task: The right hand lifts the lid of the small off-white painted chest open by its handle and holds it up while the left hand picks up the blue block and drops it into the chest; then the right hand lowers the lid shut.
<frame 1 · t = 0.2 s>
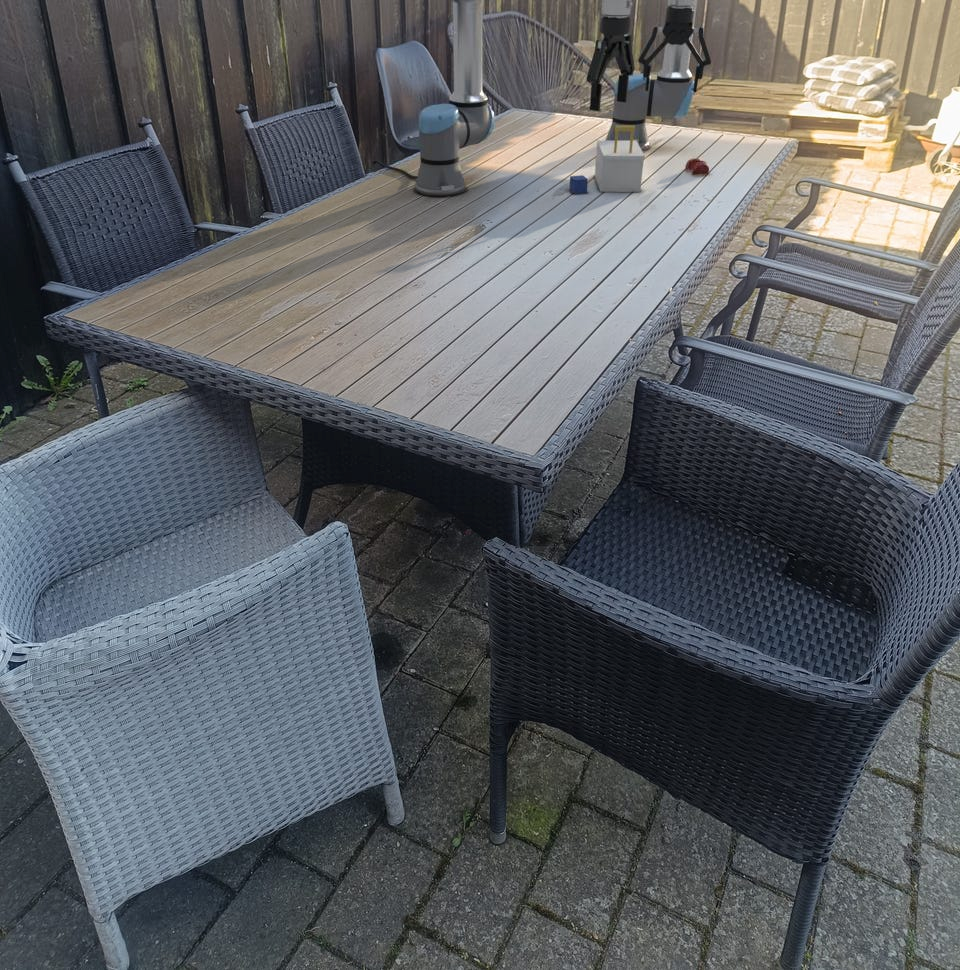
left hand: (608, 106, 226), 28 cm above the table, tool pointing down, fingers open, 13 cm apart
right hand: (670, 90, 243), 28 cm above the table, tool pointing down, fingers open, 13 cm apart
chest: (616, 183, 264), on the table
block: (577, 191, 257), on the table
dark red lumpy piece: (696, 172, 274), on the table
lid: (621, 136, 255), point 14 cm above the table, hinge at -0.1°
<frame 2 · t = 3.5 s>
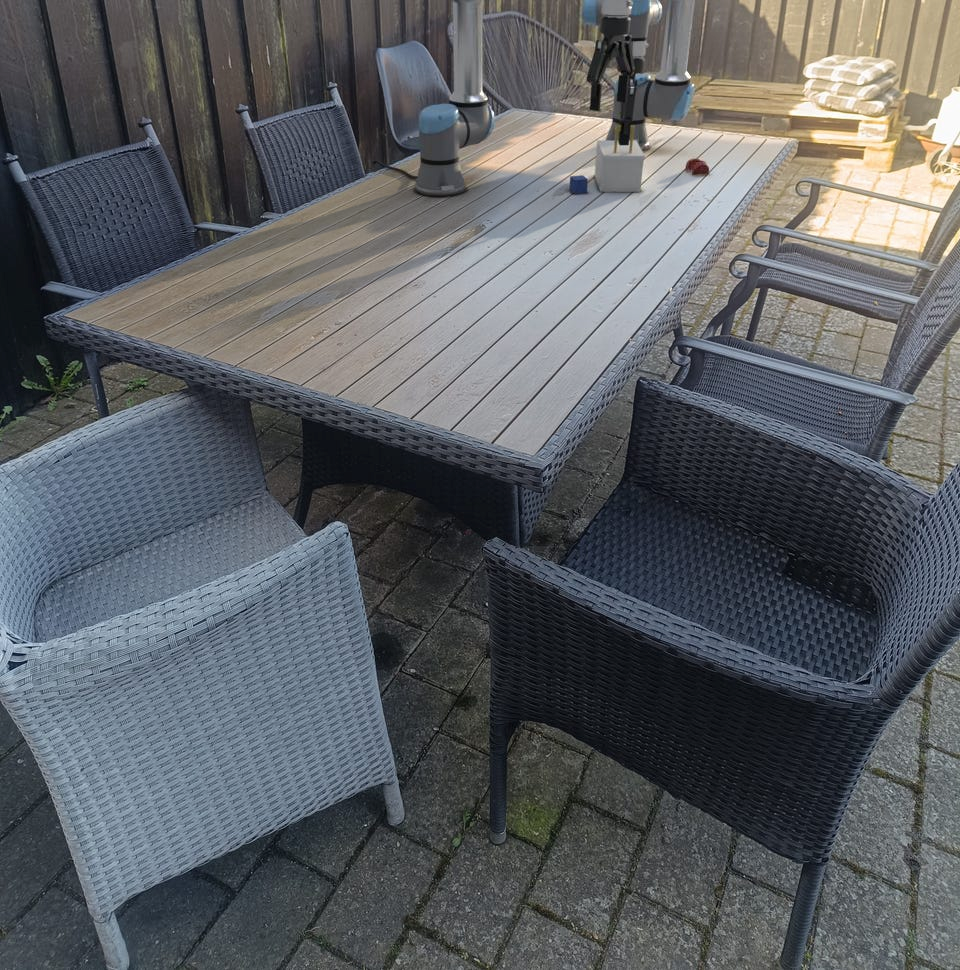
left hand: (608, 106, 226), 28 cm above the table, tool pointing down, fingers open, 13 cm apart
right hand: (623, 144, 251), 13 cm above the table, tool pointing down, fingers closed on lid, 1 cm apart
lid: (621, 136, 255), point 14 cm above the table, hinge at 0.0°, touching right hand
everything else where it was.
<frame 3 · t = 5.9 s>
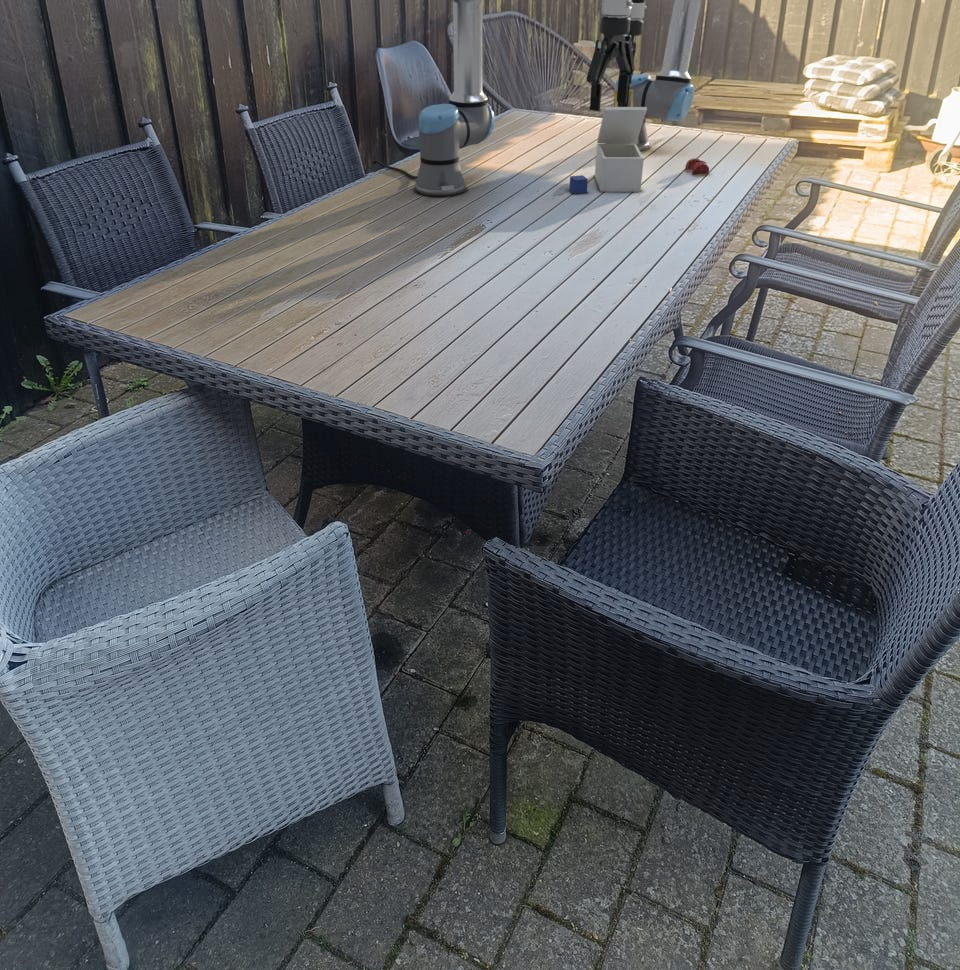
left hand: (608, 106, 226), 28 cm above the table, tool pointing down, fingers open, 13 cm apart
right hand: (622, 107, 254), 22 cm above the table, tool pointing down, fingers closed on lid, 1 cm apart
lid: (620, 114, 256), point 19 cm above the table, hinge at 43.8°, touching right hand
everything else where it was.
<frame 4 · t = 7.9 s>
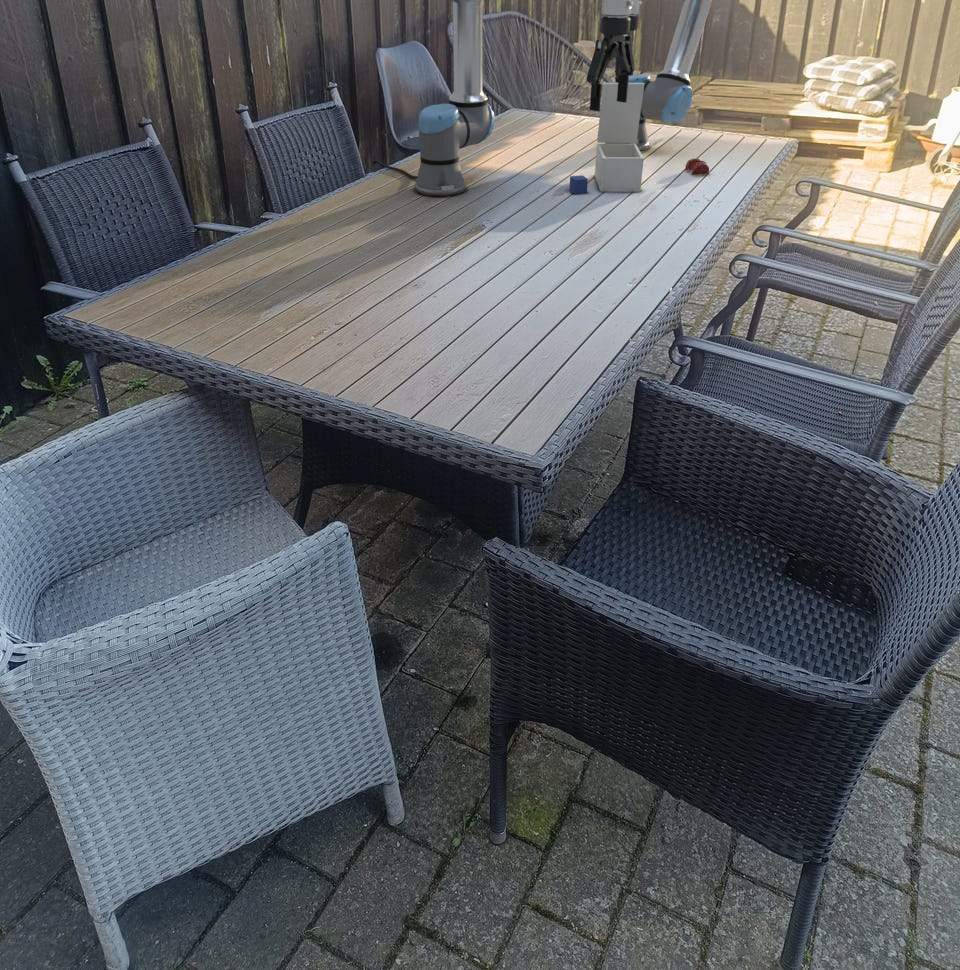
left hand: (608, 106, 226), 28 cm above the table, tool pointing down, fingers open, 13 cm apart
right hand: (618, 100, 261), 22 cm above the table, tool pointing down, fingers closed on lid, 1 cm apart
lid: (618, 107, 260), point 20 cm above the table, hinge at 77.3°, touching right hand
everything else where it was.
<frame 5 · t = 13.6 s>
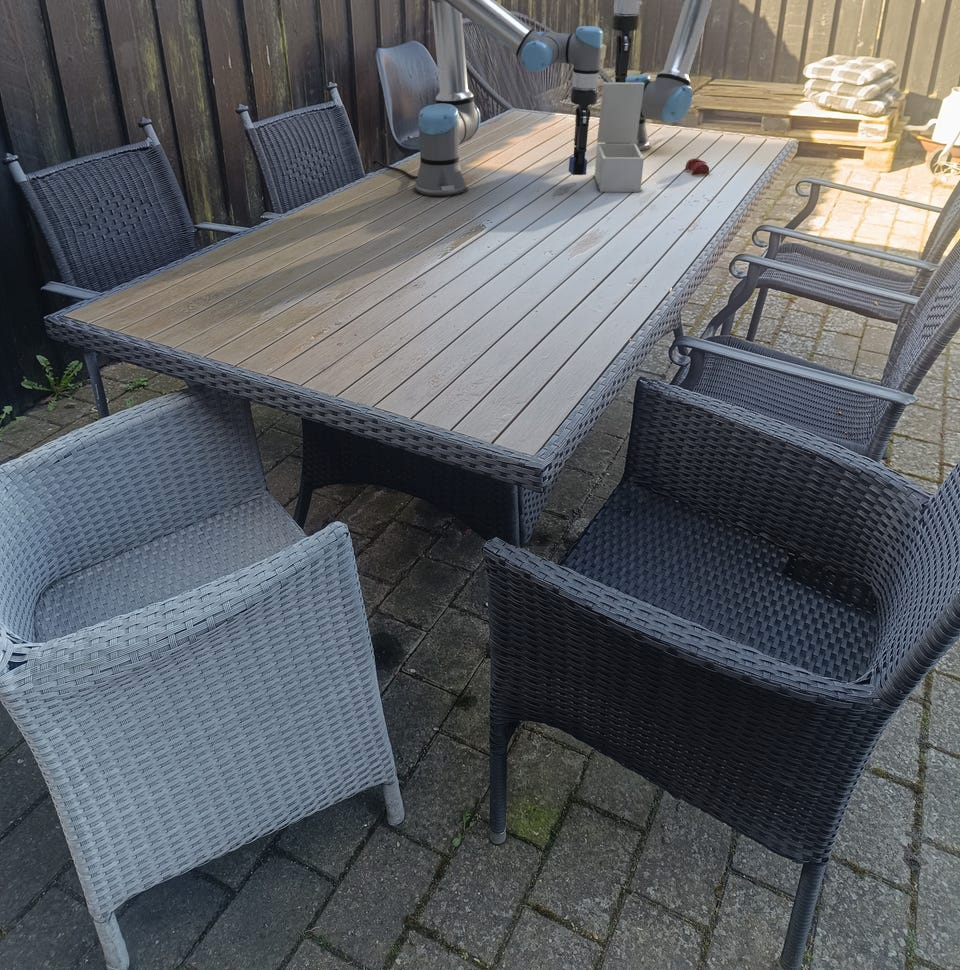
left hand: (577, 171, 254), 6 cm above the table, tool pointing down, fingers closed on block, 5 cm apart
right hand: (618, 100, 261), 22 cm above the table, tool pointing down, fingers closed on lid, 1 cm apart
block: (577, 172, 254), point 6 cm above the table, touching left hand
lid: (618, 107, 260), point 20 cm above the table, hinge at 77.7°, touching right hand
everything else where it was.
when the left hand's fingers open (18 cm above the table, at t = 16.6 s): block drops 16 cm, resting on chest.
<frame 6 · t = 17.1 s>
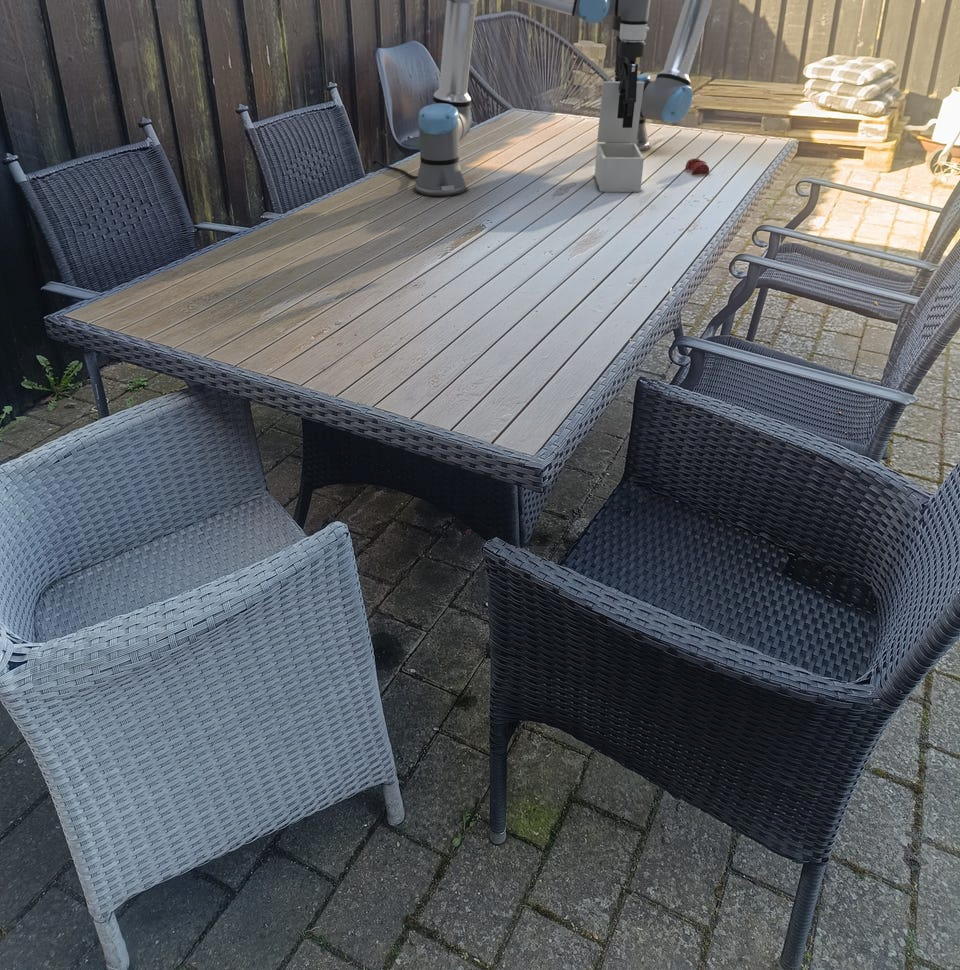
left hand: (624, 122, 249), 19 cm above the table, tool pointing down, fingers open, 12 cm apart
right hand: (618, 100, 262), 22 cm above the table, tool pointing down, fingers closed on lid, 1 cm apart
chest: (616, 183, 264), on the table, touching block
block: (617, 184, 260), point 1 cm above the table, touching chest
lid: (618, 107, 261), point 20 cm above the table, hinge at 79.7°, touching left hand, right hand
everything else where it was.
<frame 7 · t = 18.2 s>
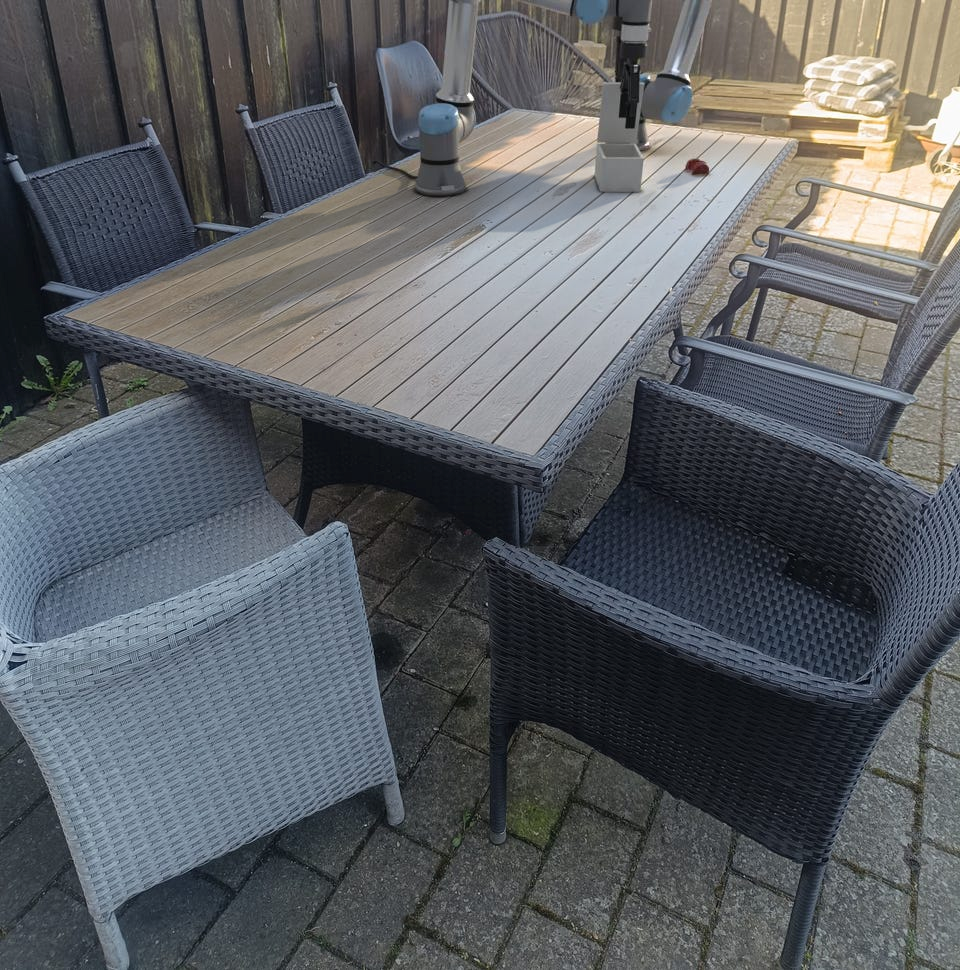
left hand: (626, 123, 246), 20 cm above the table, tool pointing down, fingers open, 13 cm apart
right hand: (618, 100, 261), 22 cm above the table, tool pointing down, fingers closed on lid, 1 cm apart
lid: (618, 107, 261), point 20 cm above the table, hinge at 77.8°, touching right hand
everything else where it was.
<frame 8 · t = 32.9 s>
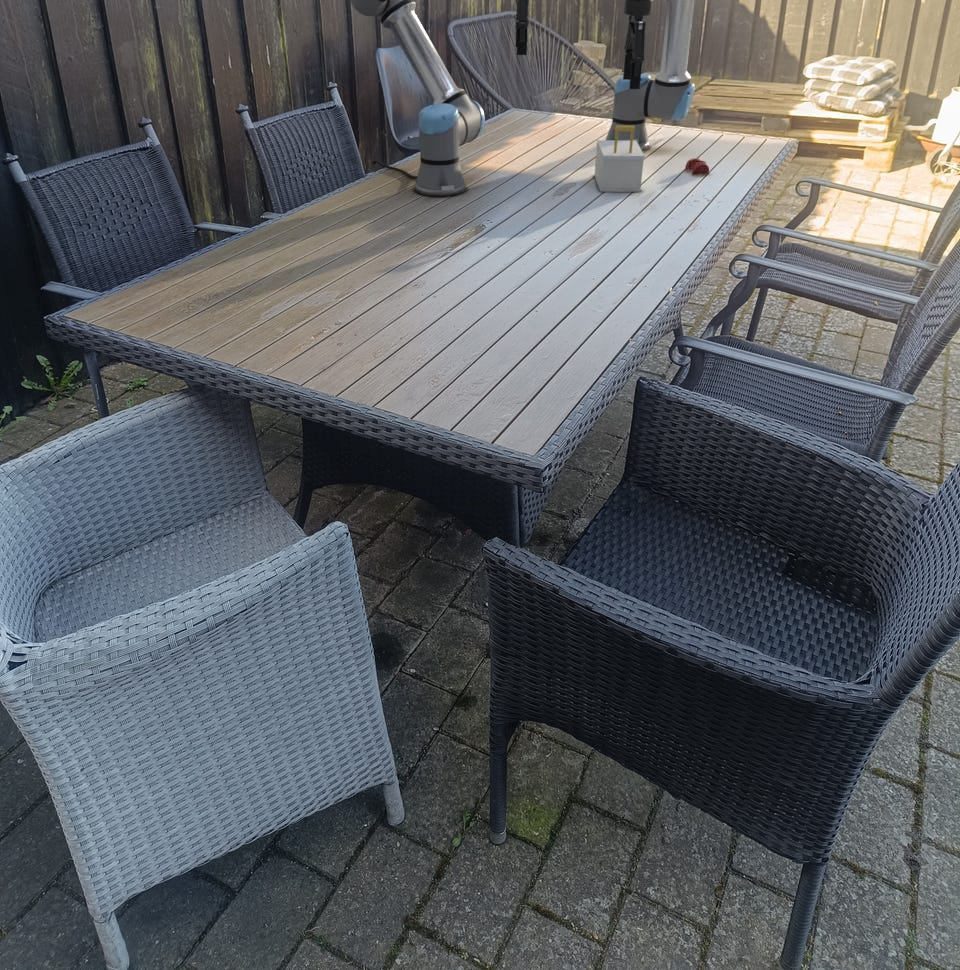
left hand: (520, 51, 239), 38 cm above the table, tool pointing down, fingers open, 13 cm apart
right hand: (631, 84, 238), 30 cm above the table, tool pointing down, fingers open, 13 cm apart
lid: (621, 136, 255), point 14 cm above the table, hinge at -0.1°
everything else where it was.
at the end: block inside the target area in the chest (4.3 cm from its centre), point 0.9 cm above the chest's base; lid at +0° (first picture: +0°); the left hand is holding nothing; the right hand is holding nothing; chest tilted 0°; chest moved 0.0 cm from its start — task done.
